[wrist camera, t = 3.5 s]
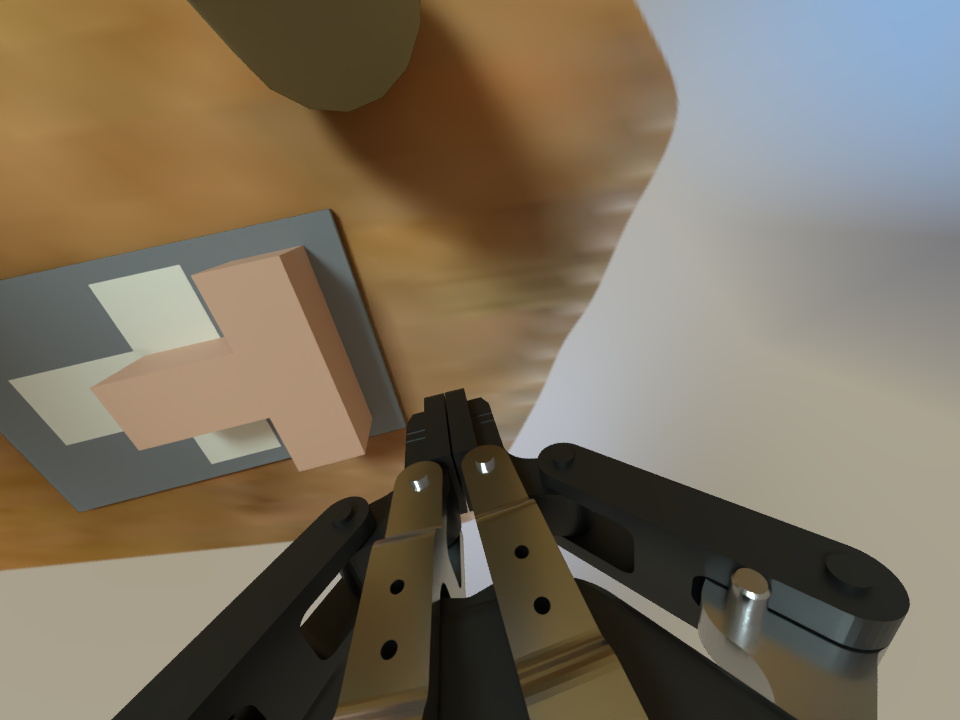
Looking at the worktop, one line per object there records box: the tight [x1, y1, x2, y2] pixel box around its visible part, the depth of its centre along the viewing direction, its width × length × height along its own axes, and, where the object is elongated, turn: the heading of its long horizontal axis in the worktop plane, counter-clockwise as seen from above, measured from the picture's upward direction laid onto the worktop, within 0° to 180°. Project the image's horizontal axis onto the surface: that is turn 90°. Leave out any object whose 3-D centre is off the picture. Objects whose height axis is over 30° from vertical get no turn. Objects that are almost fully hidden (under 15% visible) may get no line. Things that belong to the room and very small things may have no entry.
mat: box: [0, 209, 406, 512], centre depth 22 cm, size 15×23×1 cm, turn 101°
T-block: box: [90, 245, 372, 472], centre depth 21 cm, size 12×11×4 cm
